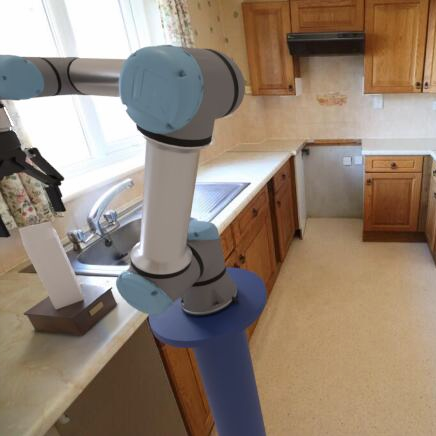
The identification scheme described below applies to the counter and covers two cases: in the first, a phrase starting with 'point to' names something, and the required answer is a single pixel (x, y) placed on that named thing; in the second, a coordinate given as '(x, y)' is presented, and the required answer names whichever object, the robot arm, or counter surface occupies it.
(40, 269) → the milk
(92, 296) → the walnut box
